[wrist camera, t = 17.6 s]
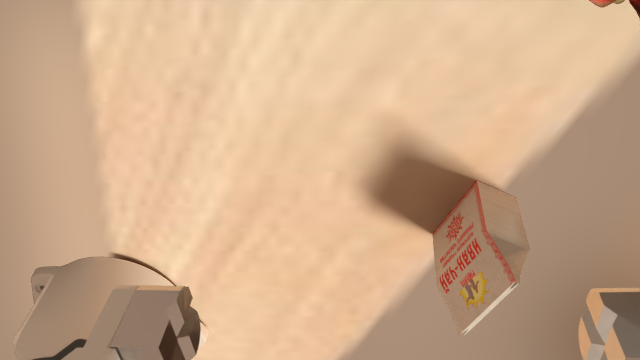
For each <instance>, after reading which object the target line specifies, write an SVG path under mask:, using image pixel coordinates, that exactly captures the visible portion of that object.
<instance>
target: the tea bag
mask: <svg viewBox="0 0 640 360" xmlns="http://www.w3.org/2000/svg"><path fill="white" fill-rule="evenodd" d="M433 245H434V258H435V270H436V282H437V287H438V289H439V291H440V292H441V294H442V296H443V298H444V301H445V303H446V304H447V306H448V308H449V310H450V312H451V314H452V317H453V319H454V321H455V324H456V326H457V329H458V333H459V335H460V334H461V333H463V332H464V335H465V334H466V333H468V332H469V331H470V330H471V329H472V328H473V327H474V326H475V325H476V324H477V323H478V322H479V321H480V320H481V319H482V318H483V317H484V316H485V315H487V314H488V313H489V312H490V311H491V310H492V309H493V308H494V307H495V306H496V305H497V304H498V303H499V302H500V301H501V300H502V299H503V298H504V297H506V295H508V294H509V293H510V292H511V291H512V290H513V289H514V288H515V287H516V286H517V285H518V284H519V283H520V274H521V270H522V266H523V264H524V262H525V259H526V257H527V255H528V252H529V250H530V247H529V244H528V240H527V236H526V233H525V229H524V225H523V222H522V218H521V214H520V211H519V208H518V203H517V200H516V197H514V196H511V195H509V194H507V193H505V192H503V191H500V190H498V189H496V188H493V187H491V186H489V185H487V184H484V183H482V182H480V181H476V182H475V183H474V184H473V186H472V187H471V188H470V189H469V190H468V192H467V193H466V194H465V195H464V197H463V198H462V199H461V200H460V201H459V203H458V204H457V205H456V206H455V207H454V209H453V210H452V211H451V212H450V214H449V215H448V216H447V217H446V218H445V220H444V221H443V222H442V223H441V225H440V226H439V227H438V228H437V229H436V231H435V232H434V233H433Z"/></svg>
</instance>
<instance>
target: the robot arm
mask: <svg viewBox="0 0 640 360" xmlns="http://www.w3.org/2000/svg"><path fill="white" fill-rule="evenodd" d="M31 283H32V291H33V298H34V306H33V307H32V309H31V311H30V312H29V314H28V316H27V318H26V319H25V321H24V323H23V324H22V326H21V328H20V330H19V331H18V333H17V335H16V337H15V339H14V341H13V345H14V346H15V355H16V357H17V360H191V359H192V358H193V357H194V356H195V355H196V353H197V350H198V348H199V347H200V346H201V345H202V344H203V343H204V342H205V341H206V339H207V336H208V334H209V332H208V330H207V328H206V327H205V326H204V325H203V324H202V323H201V322H200V319H199V315H198V312H197V311H196V310H195V309H193V308H192V307H191V306H190V304H191V301H192V298H193V297H192V295H191V292H190V290H189V287H185V286H174V285H173V284H172V283H171V282H169V281H168V280H167V279H165V278H164V277H163V276H161V275H160V274H158V273H156V272H154V271H152V270H151V269H149V268H146V267H144V266H142V265H139V264H136V263H134V262H130V261H127V260H123V259H118V258H111V257H90V258H83V259H79V260H76V261H74V262H71V263H69V264H67V265H64V266H60V267H40V268H37V269H36V270H35V272H34V274H33V275H32V278H31ZM586 302H587V305H588V308H589V311H588V312H587V313H585V314H584V315H583V316H582V317H581V320H580V325H579V345H580V349H581V354H582V357H583V360H640V288H593V289H592V290H591V291H590V292H589V294H588V297H587V300H586Z"/></svg>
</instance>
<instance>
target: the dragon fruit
mask: <svg viewBox="0 0 640 360" xmlns="http://www.w3.org/2000/svg"><path fill="white" fill-rule="evenodd" d="M589 1H591V2H592V3H593V4H595V5H596V6H599V7H605V6H607V5H609V4H611V3H616V4H620V3H622V2H624V1H625V0H589ZM629 1H630V4H631V5H632V6H633V7H634V9H635V10H636V12H637V14H638V16H639V18H640V0H629Z"/></svg>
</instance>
